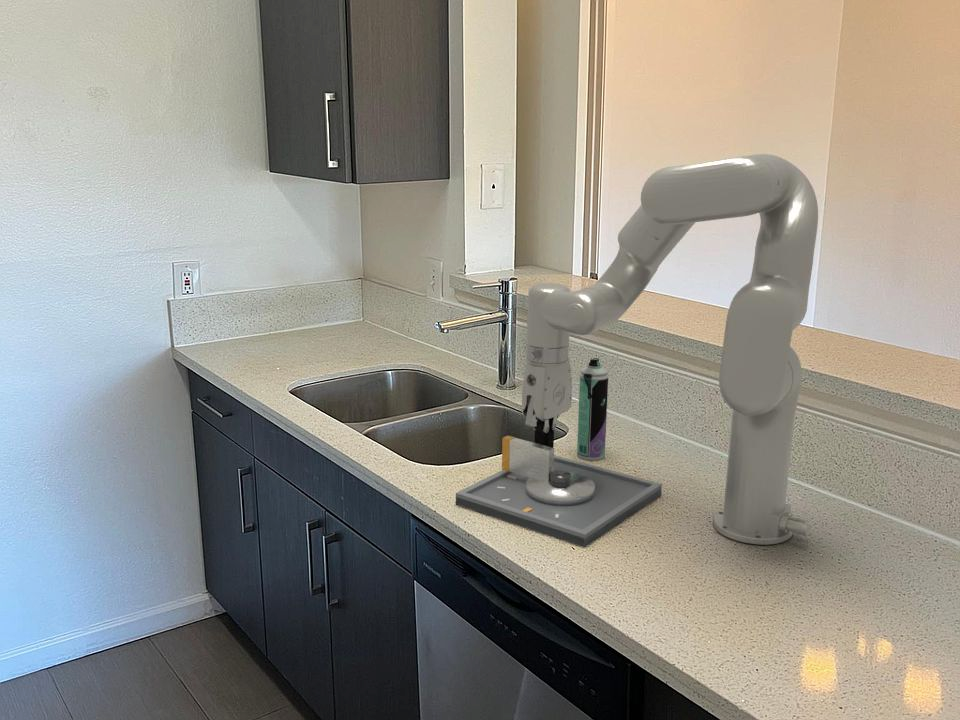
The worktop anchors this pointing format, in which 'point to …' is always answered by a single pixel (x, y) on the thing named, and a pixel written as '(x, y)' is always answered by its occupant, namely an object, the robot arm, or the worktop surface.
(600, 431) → the spray can
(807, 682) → the worktop surface
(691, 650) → the worktop surface
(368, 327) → the worktop surface
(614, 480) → the panel
